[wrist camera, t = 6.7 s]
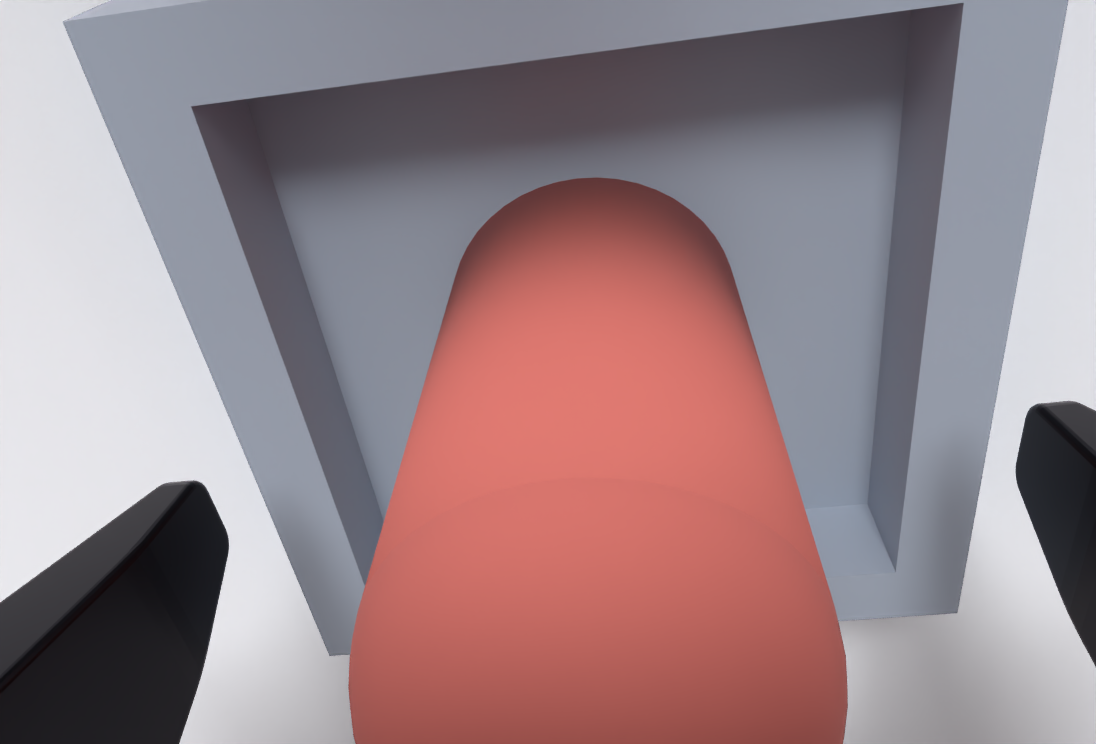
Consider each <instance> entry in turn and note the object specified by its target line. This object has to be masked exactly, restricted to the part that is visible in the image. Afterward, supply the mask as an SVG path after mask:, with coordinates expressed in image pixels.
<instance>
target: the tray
mask: <svg viewBox="0 0 1096 744" xmlns="http://www.w3.org/2000/svg"><path fill="white" fill-rule="evenodd" d="M1067 5H1068V0H111V1H108V2H106V3H104V4H101V5H99V6H97V7H95V8H92V9H90V10H88V11H86V12H83V13H81V14H79V15H77V16H74V17H72V18H70V19H68V20H65V21H63V24H64V26H65V28H66V31H67V33H68V36H69V38H70V40H71V43H72V45H73V47H74V50H75V52H76V55H77V57H78V59H79V62H80V64H81V66H82V69H83V71H84V74H85V76H86V78H87V81H88V83H89V85H90V88H91V90H92V93H93V95H94V97H95V100H96V102H97V104H98V107H99V109H100V112H101V114H102V116H103V119H104V121H105V123H106V126H107V128H108V131H109V133H110V135H111V138H112V140H113V142H114V145H115V147H116V150H117V152H118V154H119V157H120V159H121V161H122V164H123V166H124V169H125V171H126V173H127V176H128V178H129V180H130V183H131V185H132V188H133V190H134V192H135V195H136V197H137V199H138V202H139V204H140V207H141V209H142V211H143V214H144V216H145V218H146V221H147V223H148V226H149V228H150V230H151V233H152V235H153V237H154V240H155V242H156V245H157V247H158V249H159V252H160V254H161V256H162V259H163V261H164V264H165V266H166V268H167V271H168V273H169V275H170V278H171V280H172V283H173V285H174V287H175V290H176V292H177V294H178V297H179V299H180V302H181V304H182V306H183V309H184V311H185V313H186V316H187V318H188V321H189V323H190V325H191V328H192V330H193V332H194V335H195V337H196V340H197V342H198V344H199V347H200V349H201V351H202V354H203V356H204V359H205V361H206V363H207V366H208V368H209V370H210V373H211V375H212V378H213V380H214V382H215V385H216V387H217V389H218V392H219V394H220V397H221V399H222V401H223V404H224V406H225V408H226V411H227V413H228V416H229V418H230V420H231V423H232V425H233V427H234V430H235V432H236V435H237V437H238V439H239V442H240V444H241V446H242V449H243V451H244V454H245V456H246V458H247V461H248V463H249V465H250V468H251V470H252V473H253V475H254V477H255V480H256V482H257V484H258V487H259V489H260V492H261V494H262V496H263V499H264V501H265V503H266V506H267V508H268V511H269V513H270V515H271V518H272V520H273V522H274V525H275V527H276V530H277V532H278V534H279V537H280V539H281V541H282V544H283V546H284V549H285V551H286V553H287V556H288V558H289V560H290V563H291V565H292V568H293V570H294V572H295V575H296V577H297V579H298V582H299V584H300V587H301V589H302V591H303V594H304V596H305V598H306V601H307V603H308V606H309V608H310V610H311V613H312V615H313V617H314V620H315V622H316V625H317V627H318V629H319V632H320V634H321V636H322V639H323V641H324V644H325V646H326V648H327V651H328V653H329V655H330V656H335V655H349V654H350V652H351V644H352V637H353V632H354V627H355V622H356V617H357V612H358V609H359V605H360V602H361V598H362V595H363V592H364V588H365V585H366V581H367V578H368V574H369V571H370V568H371V564H372V561H373V557H374V554H375V550H376V547H377V544H378V540H379V537H380V533H381V530H382V526H383V523H384V520H385V516H386V513H387V509H388V506H389V502H390V499H391V496H392V492H393V489H394V485H395V482H396V478H397V475H398V471H399V468H400V465H401V461H402V458H403V454H404V451H405V447H406V444H407V441H408V437H409V434H410V430H411V427H412V423H413V420H414V417H415V413H416V410H417V406H418V403H419V399H420V396H421V393H422V389H423V386H424V382H425V379H426V375H427V372H428V369H429V365H430V362H431V358H432V355H433V351H434V348H435V344H436V341H437V338H438V334H439V331H440V327H441V324H442V320H443V317H444V314H445V310H446V307H447V303H448V300H449V296H450V293H451V290H452V286H453V283H454V279H455V276H456V273H457V270H458V267H459V263H460V261H461V259H462V257H463V255H464V252H465V250H466V248H467V246H468V245H469V243H470V242H471V240H472V239H473V237H474V236H475V235H476V233H477V232H478V230H479V229H480V228H481V227H482V226H483V225H484V224H485V223H486V222H487V221H488V220H489V218H490V217H492V216H493V215H494V214H495V213H497V212H498V211H499V210H500V209H501V208H503V207H504V206H505V205H507V204H508V203H510V202H512V201H513V200H515V199H516V198H518V197H520V196H521V195H523V194H526V193H528V192H530V191H532V190H534V189H537V188H539V187H542V186H546V185H549V184H552V183H555V182H559V181H565V180H571V179H577V178H596V177H599V178H611V179H620V180H625V181H630V182H634V183H639V184H641V185H644V186H647V187H650V188H653V189H656V190H658V191H660V192H662V193H664V194H666V195H668V196H670V197H672V198H674V199H675V200H677V201H678V202H680V203H681V204H683V205H684V206H686V207H687V208H688V209H690V210H691V211H692V212H693V213H694V214H695V215H696V216H698V217H699V218H700V219H701V220H702V221H703V222H704V223H705V224H706V226H707V227H708V228H709V229H710V230H711V232H712V233H713V234H714V235H715V237H716V238H717V240H718V242H719V243H720V245H721V247H722V248H723V250H724V252H725V254H726V257H727V259H728V262H729V264H730V267H731V270H732V273H733V276H734V279H735V283H736V286H737V289H738V292H739V296H740V299H741V302H742V305H743V309H744V312H745V315H746V319H747V322H748V325H749V328H750V332H751V335H752V338H753V341H754V345H755V348H756V351H757V354H758V358H759V361H760V364H761V368H762V371H763V374H764V377H765V381H766V384H767V387H768V390H769V394H770V397H771V400H772V403H773V407H774V410H775V413H776V416H777V420H778V423H779V426H780V430H781V433H782V436H783V439H784V443H785V446H786V449H787V452H788V456H789V459H790V462H791V465H792V469H793V472H794V475H795V479H796V482H797V485H798V488H799V492H800V495H801V498H802V501H803V505H804V508H805V511H806V514H807V518H808V521H809V524H810V527H811V531H812V534H813V537H814V541H815V544H816V547H817V550H818V554H819V557H820V560H821V563H822V567H823V570H824V573H825V576H826V580H827V583H828V586H829V590H830V593H831V596H832V599H833V603H834V606H835V610H836V614H837V619H838V621H848V620H863V619H877V618H892V617H907V616H921V615H936V614H951V613H957V611H958V606H959V600H960V595H961V589H962V584H963V578H964V573H965V567H966V562H967V556H968V551H969V545H970V540H971V534H972V529H973V523H974V518H975V512H976V507H977V501H978V496H979V490H980V485H981V479H982V474H983V468H984V462H985V457H986V451H987V446H988V440H989V435H990V429H991V424H992V418H993V413H994V407H995V402H996V396H997V391H998V385H999V380H1000V374H1001V369H1002V363H1003V358H1004V352H1005V347H1006V341H1007V336H1008V330H1009V325H1010V319H1011V314H1012V308H1013V303H1014V297H1015V292H1016V286H1017V281H1018V275H1019V270H1020V264H1021V259H1022V253H1023V247H1024V242H1025V236H1026V231H1027V225H1028V220H1029V214H1030V209H1031V203H1032V198H1033V192H1034V187H1035V181H1036V176H1037V170H1038V165H1039V159H1040V154H1041V148H1042V143H1043V137H1044V132H1045V126H1046V121H1047V115H1048V110H1049V104H1050V99H1051V93H1052V88H1053V82H1054V77H1055V71H1056V66H1057V60H1058V55H1059V49H1060V43H1061V38H1062V32H1063V27H1064V21H1065V16H1066V10H1067Z"/></svg>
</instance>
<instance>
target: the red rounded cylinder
mask: <svg viewBox="0 0 1096 744" xmlns="http://www.w3.org/2000/svg"><path fill="white" fill-rule="evenodd" d="M349 699H350V710H351V718H352V727H353V735H354V739H355V743H356V744H843V739H844V733H845V725H846V716H847V707H848V703H847V671H846V655H845V650H844V646H843V641H842V637H841V632H840V627H839V623H838V619H837V614H836V610H835V606H834V603H833V599H832V596H831V593H830V590H829V586H828V583H827V580H826V576H825V573H824V570H823V567H822V563H821V560H820V557H819V554H818V550H817V547H816V544H815V541H814V537H813V534H812V531H811V527H810V524H809V521H808V518H807V514H806V511H805V508H804V505H803V501H802V498H801V495H800V492H799V488H798V485H797V482H796V479H795V475H794V472H793V469H792V465H791V462H790V459H789V456H788V452H787V449H786V446H785V443H784V439H783V436H782V433H781V430H780V426H779V423H778V420H777V416H776V413H775V410H774V407H773V403H772V400H771V397H770V394H769V390H768V387H767V384H766V381H765V377H764V374H763V371H762V368H761V364H760V361H759V358H758V354H757V351H756V348H755V345H754V341H753V338H752V335H751V332H750V328H749V325H748V322H747V319H746V315H745V312H744V309H743V305H742V302H741V299H740V296H739V292H738V289H737V286H736V283H735V279H734V276H733V273H732V270H731V267H730V264H729V262H728V259H727V257H726V254H725V252H724V250H723V248H722V247H721V245H720V243H719V242H718V240H717V238H716V237H715V235H714V234H713V233H712V232H711V230H710V229H709V228H708V227H707V226H706V224H705V223H704V222H703V221H702V220H701V219H700V218H699V217H698V216H696V215H695V214H694V213H693V212H692V211H691V210H690V209H688V208H687V207H686V206H684V205H683V204H681V203H680V202H678V201H677V200H675V199H674V198H672V197H670V196H668V195H666V194H664V193H662V192H660V191H658V190H656V189H653V188H650V187H647V186H644V185H641V184H639V183H634V182H630V181H625V180H620V179H611V178H599V177H596V178H577V179H571V180H565V181H559V182H555V183H552V184H549V185H546V186H542V187H539V188H537V189H534V190H532V191H530V192H528V193H526V194H523V195H521V196H520V197H518V198H516V199H515V200H513V201H512V202H510V203H508V204H507V205H505V206H504V207H503V208H501V209H500V210H499V211H498V212H497V213H495V214H494V215H493V216H492V217H490V218H489V220H488V221H487V222H486V223H485V224H484V225H483V226H482V227H481V228H480V229H479V230H478V232H477V233H476V235H475V236H474V237H473V239H472V240H471V242H470V243H469V245H468V246H467V248H466V250H465V252H464V255H463V257H462V259H461V261H460V263H459V267H458V270H457V273H456V276H455V279H454V283H453V286H452V290H451V293H450V296H449V300H448V303H447V307H446V310H445V314H444V317H443V320H442V324H441V327H440V331H439V334H438V338H437V341H436V344H435V348H434V351H433V355H432V358H431V362H430V365H429V369H428V372H427V375H426V379H425V382H424V386H423V389H422V393H421V396H420V399H419V403H418V406H417V410H416V413H415V417H414V420H413V423H412V427H411V430H410V434H409V437H408V441H407V444H406V447H405V451H404V454H403V458H402V461H401V465H400V468H399V471H398V475H397V478H396V482H395V485H394V489H393V492H392V496H391V499H390V502H389V506H388V509H387V513H386V516H385V520H384V523H383V526H382V530H381V533H380V537H379V540H378V544H377V547H376V550H375V554H374V557H373V561H372V564H371V568H370V571H369V574H368V578H367V581H366V585H365V588H364V592H363V595H362V598H361V602H360V605H359V609H358V612H357V617H356V622H355V627H354V632H353V637H352V644H351V652H350V663H349Z"/></svg>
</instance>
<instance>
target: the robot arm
mask: <svg viewBox="0 0 1096 744" xmlns="http://www.w3.org/2000/svg"><path fill="white" fill-rule="evenodd" d="M1016 480H1017V484H1018V488H1019V491H1020V493H1021V496H1022V498H1023V501H1024V504H1025V506H1026V509H1027V511H1028V514H1029V516H1030V519H1031V521H1032V524H1033V527H1034V529H1035V532H1036V534H1037V537H1038V539H1039V542H1040V545H1041V547H1042V550H1043V552H1044V555H1045V557H1046V560H1047V562H1048V565H1049V568H1050V570H1051V573H1052V575H1053V578H1054V580H1055V583H1056V586H1057V588H1058V591H1059V593H1060V596H1061V598H1062V600H1063V603H1064V605H1065V607H1066V610H1067V612H1068V614H1069V616H1070V618H1071V620H1072V622H1073V624H1074V626H1075V628H1076V630H1077V632H1078V634H1079V636H1080V638H1081V640H1082V642H1083V644H1084V646H1085V647H1086V649H1087V651H1088V653H1089V655H1090V657H1091V659H1092V661H1093V662H1094V664H1095V666H1096V411H1095V410H1093V409H1091V408H1089V407H1087V406H1085V405H1083V404H1080V403H1078V402H1074V401H1063V402H1052V403H1041V404H1036V405H1034V406H1033V407H1031V408H1030V409H1029V411H1028V413H1027V415H1026V418H1025V423H1024V428H1023V433H1022V438H1021V443H1020V447H1019V452H1018V457H1017V462H1016ZM228 551H229V540H228V535H227V532H226V529H225V527H224V525H223V522H222V520H221V518H220V516H219V514H218V512H217V510H216V507H215V505H214V503H213V501H212V499H211V497H210V495H209V492H208V491H207V489H206V487H205V486H204V485H203V484H202V483H200V482H198V481H194V480H193V481H181V482H170V483H165V484H162V485H161V486H159V487H158V488H156V489H155V490H153V491H152V492H151V493H149V494H148V495H147V496H145V497H144V498H142V499H141V500H140V501H138V502H137V503H136V504H134V505H133V506H132V507H130V508H129V509H127V510H126V511H125V512H123V513H122V514H121V515H119V516H118V517H116V518H115V519H114V520H112V521H111V522H110V523H108V524H107V525H106V526H104V527H103V528H101V529H100V530H99V531H97V532H96V533H95V534H93V535H92V536H91V537H89V538H88V539H86V540H85V541H84V542H82V543H81V544H80V545H78V546H77V547H75V548H74V549H73V550H71V551H70V552H69V553H67V554H66V555H65V556H63V557H62V558H60V559H59V560H58V561H56V562H55V563H54V564H52V565H51V566H50V567H48V568H47V569H45V570H44V571H43V572H41V573H40V574H39V575H37V576H36V577H34V578H33V579H32V580H30V581H29V582H28V583H26V584H25V585H24V586H22V587H21V588H19V589H18V590H17V591H15V592H14V593H13V594H11V595H10V596H9V597H7V598H6V599H4V600H3V601H2V602H0V744H179V742H180V739H181V736H182V733H183V730H184V727H185V724H186V721H187V718H188V715H189V712H190V709H191V706H192V703H193V700H194V697H195V694H196V691H197V688H198V685H199V681H200V678H201V675H202V671H203V667H204V663H205V659H206V655H207V651H208V646H209V641H210V637H211V632H212V627H213V623H214V618H215V613H216V609H217V604H218V599H219V595H220V590H221V585H222V581H223V576H224V571H225V567H226V562H227V557H228Z"/></svg>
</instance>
